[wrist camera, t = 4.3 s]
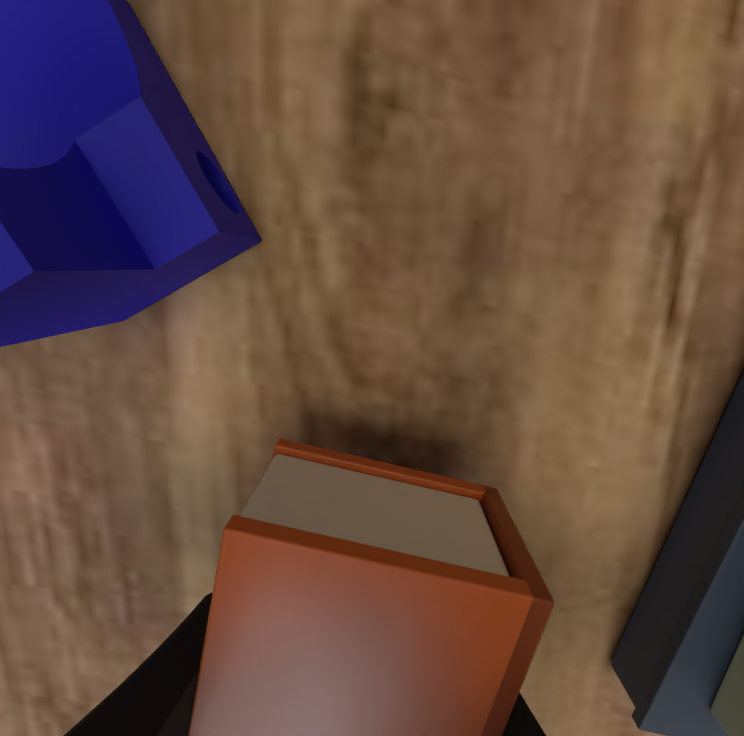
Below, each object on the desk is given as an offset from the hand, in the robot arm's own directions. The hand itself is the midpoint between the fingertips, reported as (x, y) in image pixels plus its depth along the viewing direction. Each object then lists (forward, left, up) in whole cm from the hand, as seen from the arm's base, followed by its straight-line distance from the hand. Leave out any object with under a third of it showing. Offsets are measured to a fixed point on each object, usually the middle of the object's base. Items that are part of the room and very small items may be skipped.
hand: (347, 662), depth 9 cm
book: (0, 0, -1) cm, 1 cm away
